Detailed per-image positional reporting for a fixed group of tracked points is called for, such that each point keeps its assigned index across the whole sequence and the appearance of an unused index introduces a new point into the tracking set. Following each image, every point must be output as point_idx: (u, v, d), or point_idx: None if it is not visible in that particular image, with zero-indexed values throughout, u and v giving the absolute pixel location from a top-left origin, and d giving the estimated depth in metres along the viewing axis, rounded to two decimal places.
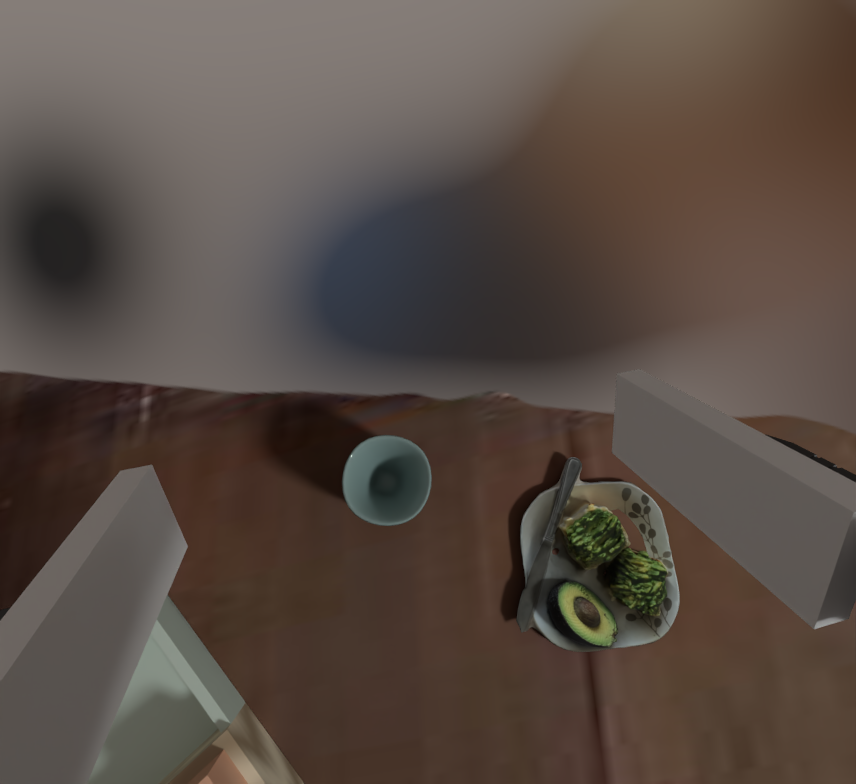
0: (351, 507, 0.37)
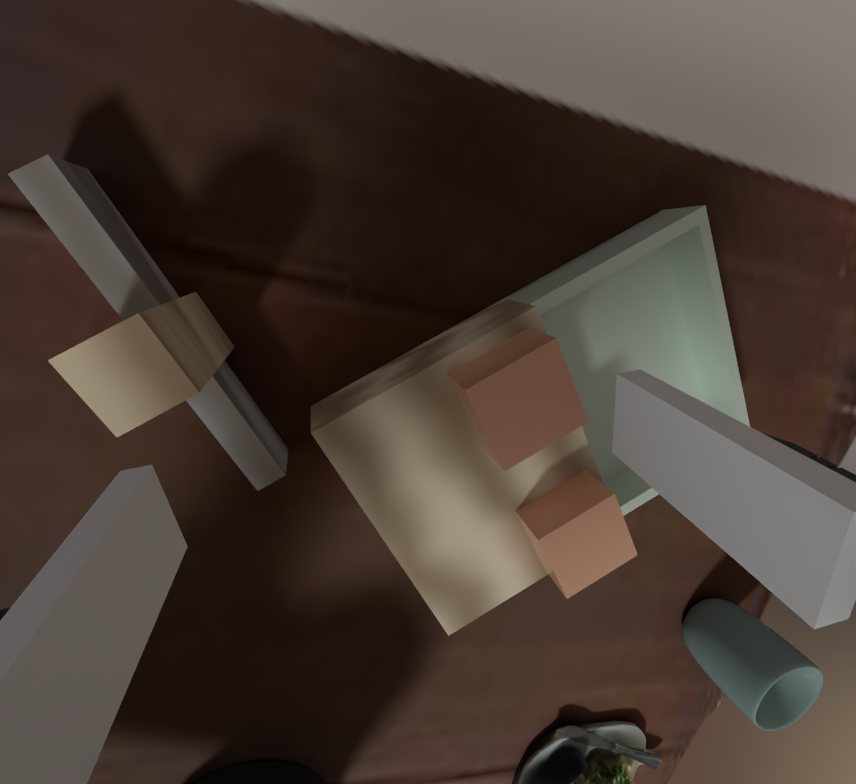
0: (785, 674, 0.39)
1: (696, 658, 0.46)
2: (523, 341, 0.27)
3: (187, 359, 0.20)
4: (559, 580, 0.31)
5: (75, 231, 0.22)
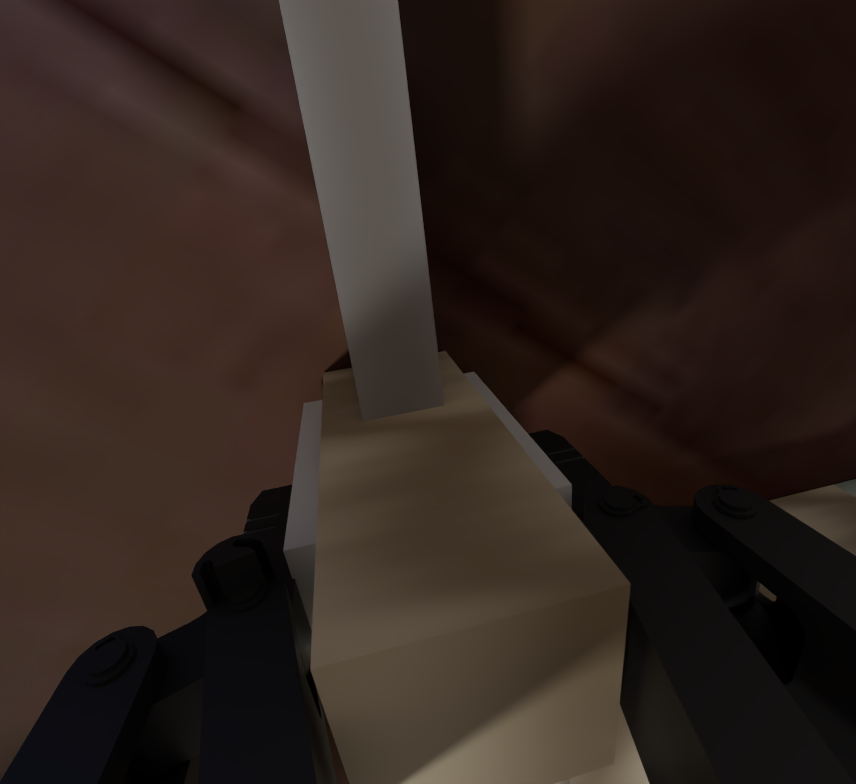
0: None
1: None
2: None
3: None
4: None
5: (363, 200, 0.09)
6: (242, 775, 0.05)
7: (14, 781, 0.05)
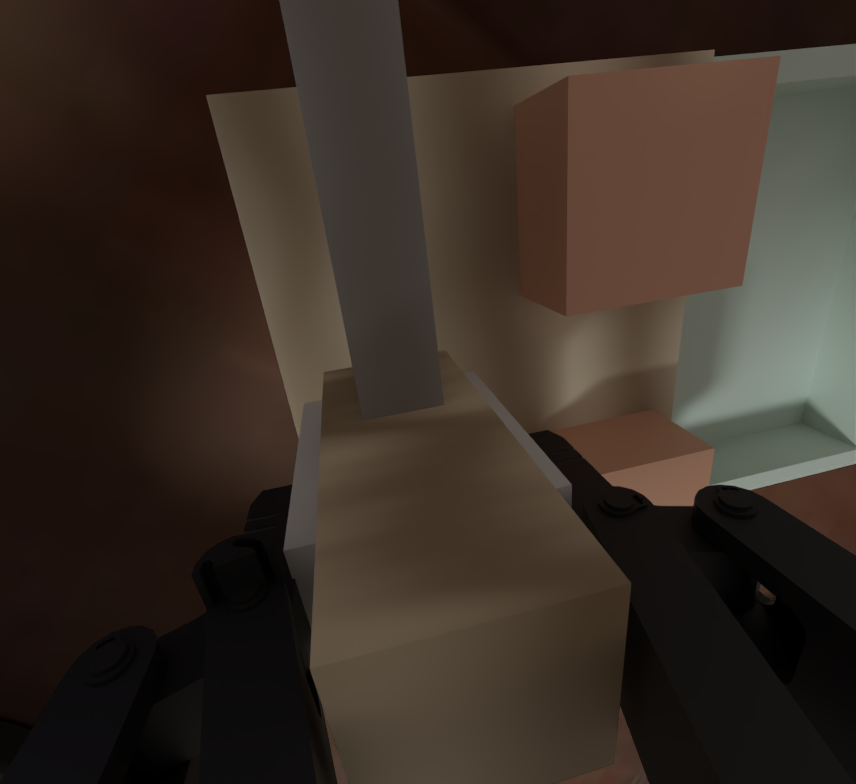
0: None
1: None
2: None
3: None
4: None
5: (363, 198, 0.09)
6: (242, 775, 0.05)
7: (14, 781, 0.05)
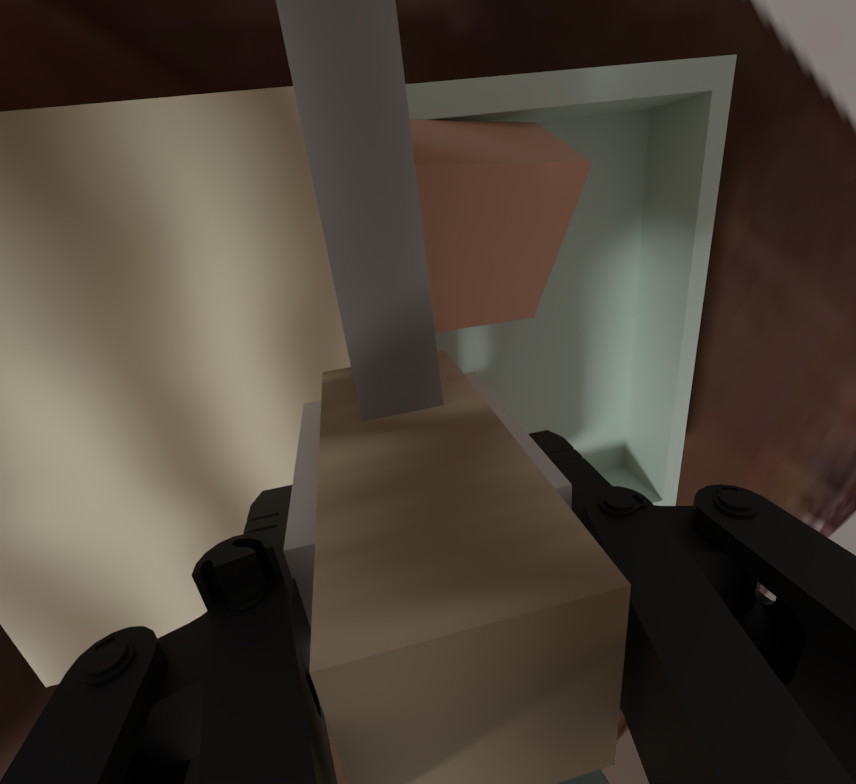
0: None
1: None
2: (529, 138, 0.14)
3: None
4: None
5: (361, 199, 0.09)
6: (242, 775, 0.05)
7: (13, 781, 0.05)
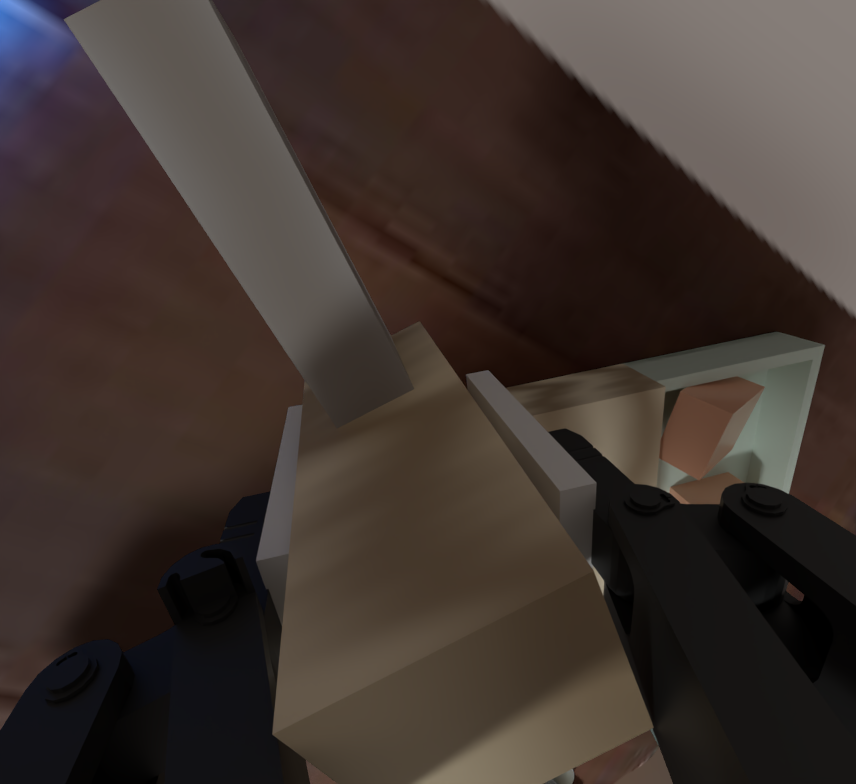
0: None
1: None
2: (731, 380, 0.33)
3: None
4: None
5: (245, 207, 0.08)
6: None
7: None
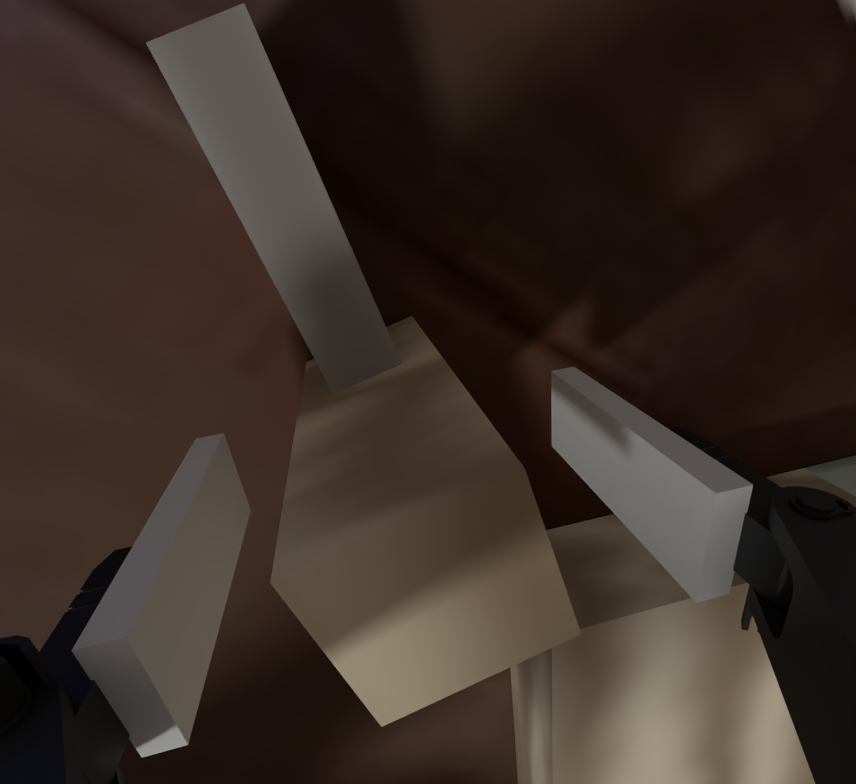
0: None
1: None
2: None
3: None
4: None
5: (272, 197, 0.10)
6: None
7: None
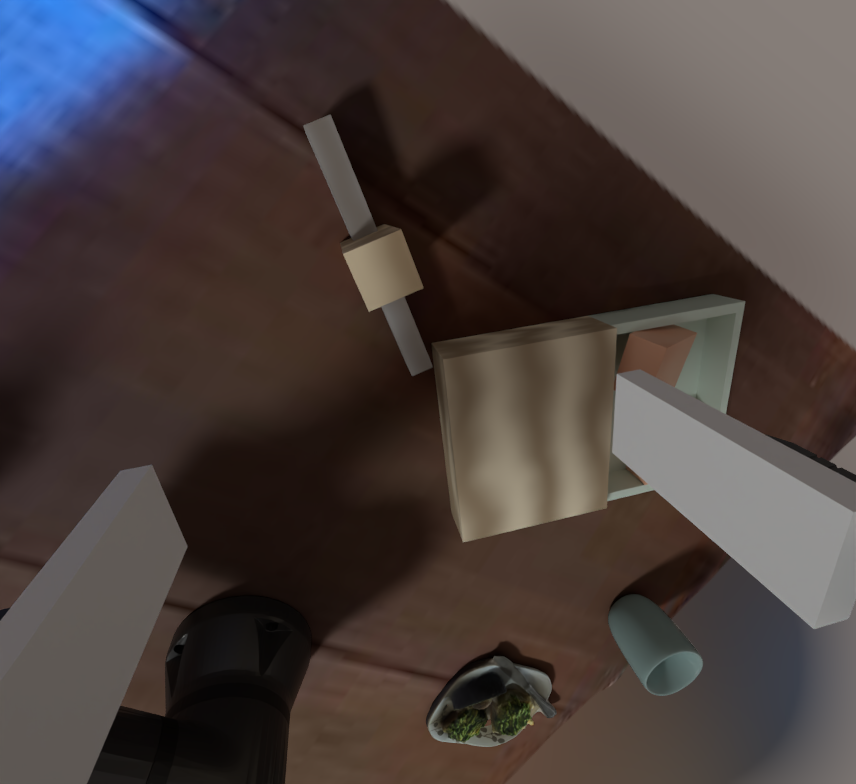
0: (679, 652, 0.52)
1: (614, 632, 0.58)
2: (671, 328, 0.42)
3: None
4: None
5: (335, 170, 0.31)
6: None
7: None
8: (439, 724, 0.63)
